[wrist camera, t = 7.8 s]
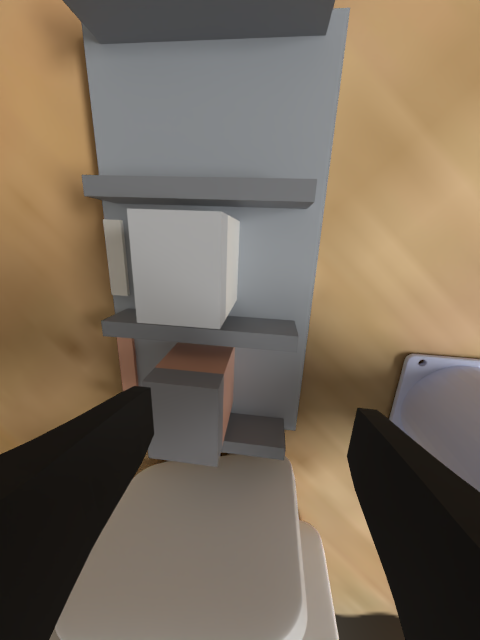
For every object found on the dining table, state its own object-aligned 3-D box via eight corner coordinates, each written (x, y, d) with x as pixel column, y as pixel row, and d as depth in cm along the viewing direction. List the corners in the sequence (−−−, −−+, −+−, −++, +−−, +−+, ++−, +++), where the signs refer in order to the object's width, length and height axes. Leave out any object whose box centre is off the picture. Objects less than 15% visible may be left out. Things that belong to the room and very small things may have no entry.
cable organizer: (299, 438, 22) (327, 648, 10) (320, 528, 24) (361, 768, 13) (141, 458, 24) (33, 639, 13) (177, 536, 27) (112, 739, 16)
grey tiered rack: (344, 24, 13) (373, -62, 9) (294, 422, 21) (299, 462, 17) (93, 35, 15) (31, -36, 11) (132, 403, 22) (103, 437, 19)
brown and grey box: (235, 342, 18) (218, 389, 13) (233, 402, 20) (217, 467, 14) (181, 338, 19) (141, 381, 13) (183, 396, 20) (148, 457, 15)
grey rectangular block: (239, 221, 16) (221, 211, 10) (236, 299, 17) (219, 329, 12) (177, 219, 16) (126, 208, 11) (180, 296, 18) (136, 322, 12)
